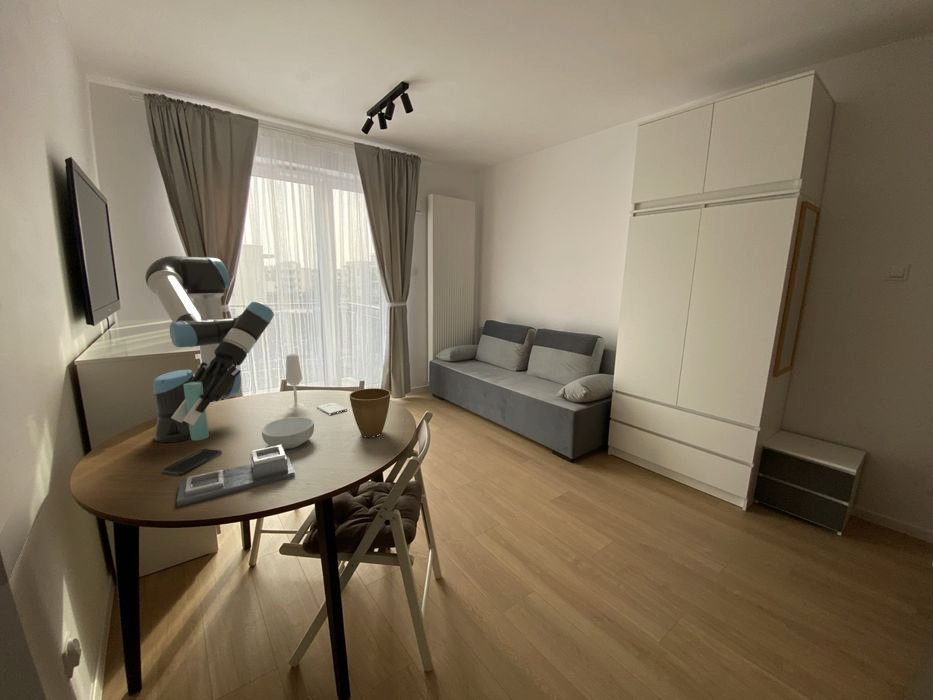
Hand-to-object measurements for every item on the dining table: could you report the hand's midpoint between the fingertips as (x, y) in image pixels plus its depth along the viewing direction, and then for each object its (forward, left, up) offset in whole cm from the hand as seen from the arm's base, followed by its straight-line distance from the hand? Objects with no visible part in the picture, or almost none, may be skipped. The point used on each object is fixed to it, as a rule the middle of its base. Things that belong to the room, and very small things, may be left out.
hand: (182, 421), depth 98 cm
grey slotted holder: (+4, +11, -22) cm, 24 cm away
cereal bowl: (-2, +35, -22) cm, 41 cm away
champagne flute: (-30, +65, -22) cm, 74 cm away
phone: (-19, +13, -22) cm, 32 cm away
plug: (0, +4, -6) cm, 7 cm away
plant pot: (+19, +54, -22) cm, 61 cm away
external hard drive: (-13, +68, -22) cm, 73 cm away
